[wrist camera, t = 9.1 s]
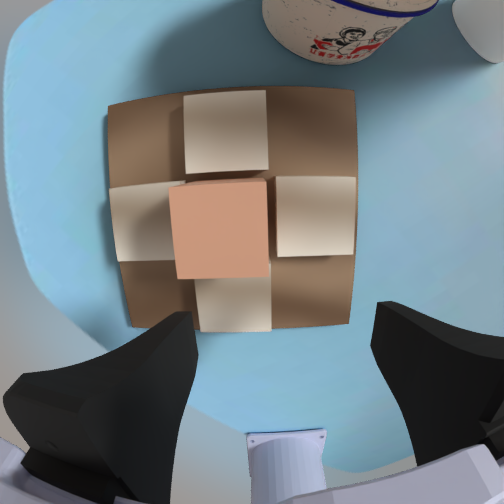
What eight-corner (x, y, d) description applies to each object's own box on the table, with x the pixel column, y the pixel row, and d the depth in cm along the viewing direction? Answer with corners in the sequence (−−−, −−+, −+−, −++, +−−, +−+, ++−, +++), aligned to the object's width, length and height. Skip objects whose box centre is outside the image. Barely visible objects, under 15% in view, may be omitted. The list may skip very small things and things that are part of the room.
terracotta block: (264, 242, 18) (269, 276, 12) (201, 244, 18) (177, 279, 13) (262, 177, 17) (266, 181, 11) (196, 181, 17) (168, 187, 11)
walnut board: (345, 317, 21) (354, 334, 18) (136, 320, 21) (125, 337, 19) (349, 93, 16) (362, 84, 14) (114, 108, 17) (97, 101, 14)
